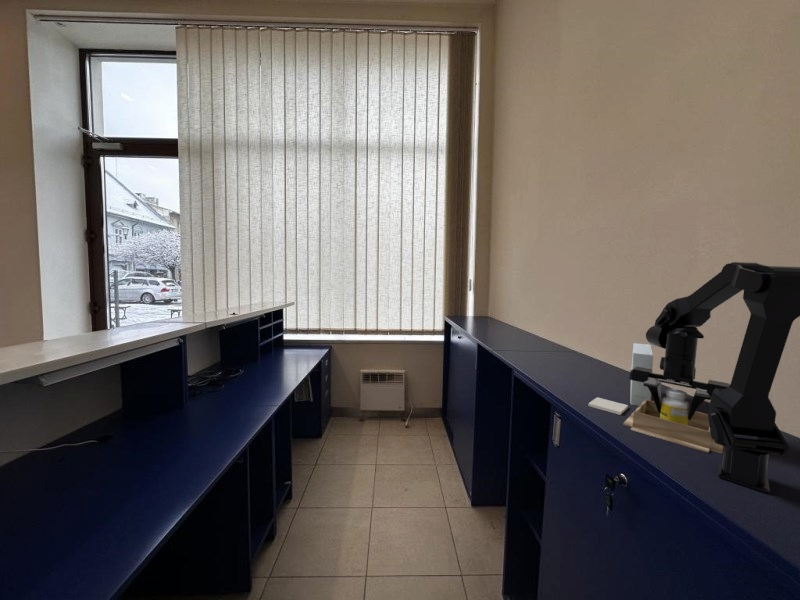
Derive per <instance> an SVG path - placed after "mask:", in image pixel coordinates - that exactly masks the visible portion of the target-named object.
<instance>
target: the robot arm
mask: <svg viewBox="0 0 800 600" xmlns="http://www.w3.org/2000/svg"><path fill="white" fill-rule="evenodd" d="M742 291H743V295H742V299H743V301H744V303H745V306H746V307H747V309H748V311H749V312H750V314H749V315H750V316H749V320H748V324H747V326H746V330H745V334H744V338H743V340H742V344H741V347H740V351H739V353H738V357H737V361H736V363H735V368H734V371H733V374H732V378H731V382H730V383H727V382H723V381H717V380H713V379H708V381H707V382H702V381H697V380H695V379H696V371H697V370H696V369H697V368H696V358H697V350H698V348H697V347H698V339H704V338H705V336H704V334H703V333H702V332H701V331H700V330H699V329H698V328H699V327H701V326H703V325H704V324H705V323H707V321H709V320H710V319H711V312H712V311H713V310H714V309H716V308H717V307H719V306H720V305H722V304H723V303H725V302H727V301H728V300H729V299H731V298H732V297H734V296H736V295H737V294H738V293H741V292H742ZM799 317H800V266H777V265H775V266H773V265H764V264H760V263H758V262H741V261H740V262H739V261H735V262H730V263H726V264H724V266H723V267H722V269H721V271H720V272H718V273H717V274H716V275H714V276H713V277H712V278H711V279H709V280H708V281H706V282H705V283H704V284H703V285H702V286H700V287H699V288H697V290H695V291H694V292H693V293H691V294H690V295H687V296H684V297H679V298H678V297H677V298H675V299H673V300H672V301H669V302H668V303H667V304H666V305H665V306H664V308H663V309H662V311H661V312H660V314H659V316H658V317H656V319H655V322H654V325H653V326H651V327H649V328H648V329H647V331H646V332H645V338H646V341H647V342H648V343H649V345H651V346H655V347H658V348H662V349H664V350H665V352H664V357H663V356H661V357H660V363H659V368H660V370H662V371H663V372H662V374H660V373H656V372H655V373H654V372H653V368H652V369H647V368H642V367H635V368H634V369H632V370H631V369H630V371H629V380H630V381H631V380H634V381H638V382H643V383H644V382H645V383H644V384H643V385H644V386H646V387H648V388H649V390H650V392H651V397H652V398H653V401H655V404H656V407H657V410H658V412H659V413H660V412H661V400H662V383H664V384H669V385H672V386H673V385H674V386H679V387H684V388H689V389H693V390H695V393H694V394H693V398H692V402H691V404H690V409H689V410H690V411H689V416H688V420H691V418H692V417H693V415H694V413H695V412H697V410H698V408H699V407H700V406H701V405H702V404H703V402H704V401H705V400H707V401H709V403H708V404H707V406H708V408H709V409H708V412H707V414H708V420H709V427H710V433H711V438H712V439H714V440H715V443H717V444H719V445H722V446H723V451H722V460H721V462H719V463H718V469H717V477H718V478H721V479H723V480H726V481H730V482H732V483H736V484H738V485H742V486H744V487H747V488H751V489H754V490H757V491H760V492H762V493H765V494H770V492H771V489H770V484H769V483H770V482H769V478H768V477H767V474H768V466H769V456H770V455H771V454H773V455H779V456H786V454H787V453H788V451H789V449H790V446H789V444H788V442H787V440H786V439H785V437H784V436H783V434H782V432H781V430H780V428H779V426H778V425H777V424H776V417H777V411H776V409H775V407H774V405H773V403H772V402H771V399H770V398H769V396H770V392H771V389H772V385H773V383H774V380H775V377H776V373H777V371H778V368H779V365H780V362H781V359H782V356H783V352H784V350H785V346H786V343H787V340H788V338H789V334H790V331H791V328H792V325H793V322H794V321H796V319H798V318H799ZM735 435H738V436H745V437H737V436H735ZM747 437H756V438H757V439H755V438H747Z"/></svg>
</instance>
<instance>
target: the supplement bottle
mask: <svg viewBox="0 0 800 600" xmlns="http://www.w3.org/2000/svg"><path fill="white" fill-rule="evenodd" d="M687 396H688V393H687V392H686V391H685V390H680V389H676V388H666V389H665V396H664V397H661V412H660V418H661V419H665V420H669V421H673V422H676V423H680V424H684V425H688V416H689V410H690V408H691V404H690V402H688V401H687V400H686V399H687V398H688V397H687Z"/></svg>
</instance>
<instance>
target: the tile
mask: <svg viewBox="0 0 800 600" xmlns="http://www.w3.org/2000/svg"><path fill="white" fill-rule="evenodd" d="M587 404H588V405H587V406H588V407H591V408H594V409H598V410H601V411H604V412H605V411H606V412H609V413H613V414H615V415H616V414H617V415H619V416H621V415H622V414H623V413H625V412H626V411H627V409H629V405H628V404H624V403H621V402H620V403H619V402H618V401H617V402H616V401H613V400H610V399H609V400H608V399H605V398H602V397H599V396H597V397H595V398H594V399H592V400H591V401H590V402H589V403H587Z"/></svg>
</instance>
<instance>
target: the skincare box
mask: <svg viewBox="0 0 800 600" xmlns="http://www.w3.org/2000/svg"><path fill="white" fill-rule="evenodd" d="M653 361H654V354H653V349H652V344H646V343H645V344H644V343H639V342H638V343H637V342H636V343H635V342H633V347H632V355H631V369H630V371H631V370H632V369H634V368H635V367H642V368H647V369H652V370H653V368H654V367H653V365H654V364H653V363H654V362H653ZM644 383H645V382H644ZM644 383H643V382H638V381H634V380H630V393H629V394H630V401H629V402H630V405H633V406H638V407H639V406H640V405H641V404H642V402H643V401H644V400H645V399H646V400H650V401H652V394H651V392H650V390H649V388H648V387H646V386H644V385H643V384H644Z"/></svg>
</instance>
